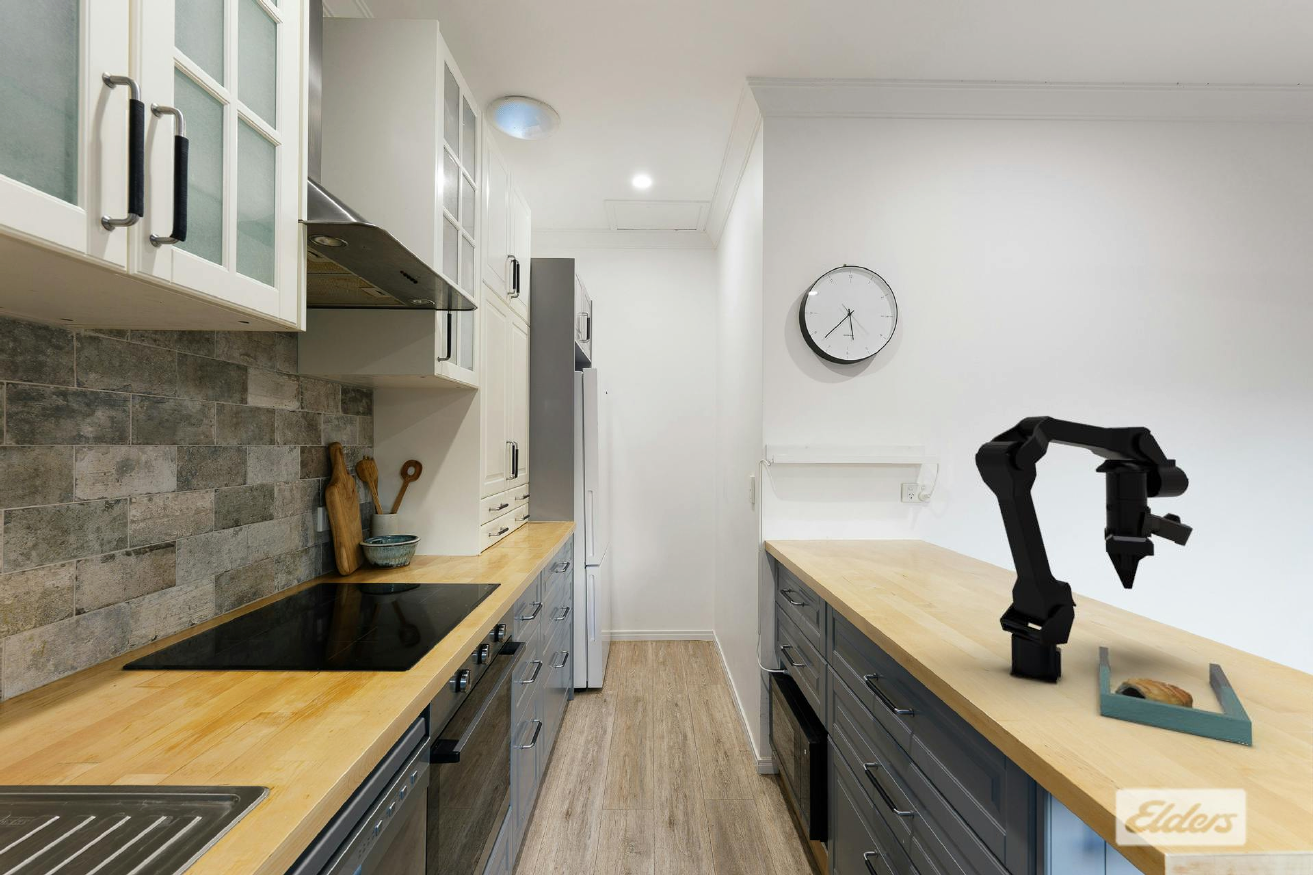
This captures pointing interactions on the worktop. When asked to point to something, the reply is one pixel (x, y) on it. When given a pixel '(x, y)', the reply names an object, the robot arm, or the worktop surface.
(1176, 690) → the pastry
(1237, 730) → the rail pocket
